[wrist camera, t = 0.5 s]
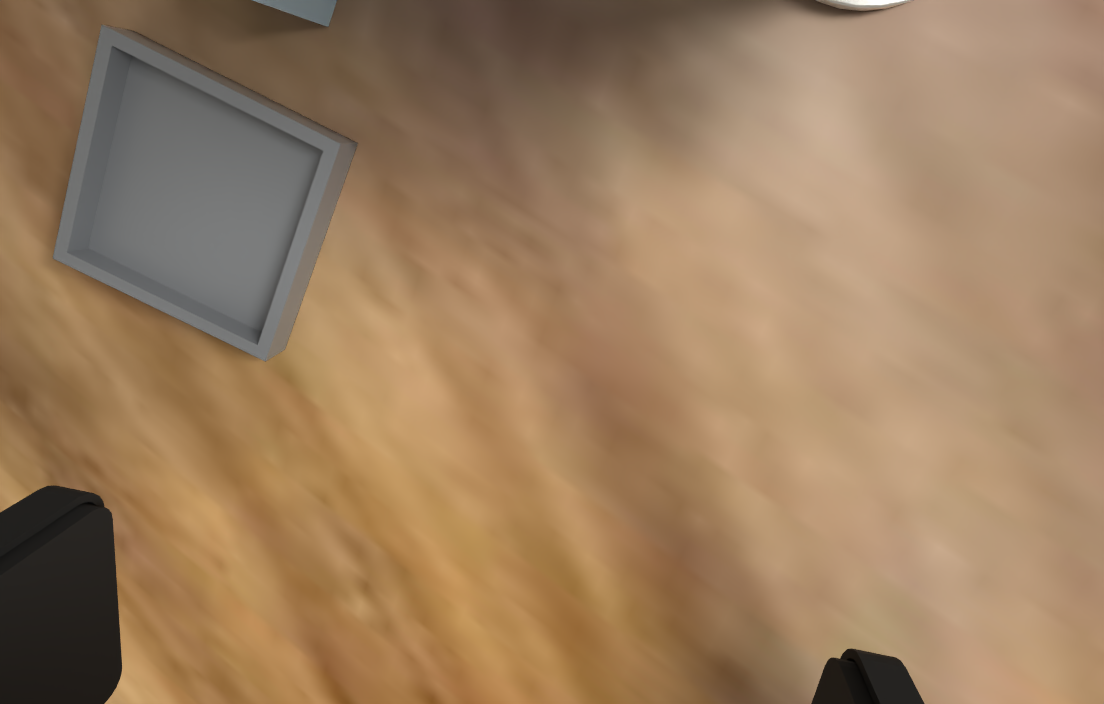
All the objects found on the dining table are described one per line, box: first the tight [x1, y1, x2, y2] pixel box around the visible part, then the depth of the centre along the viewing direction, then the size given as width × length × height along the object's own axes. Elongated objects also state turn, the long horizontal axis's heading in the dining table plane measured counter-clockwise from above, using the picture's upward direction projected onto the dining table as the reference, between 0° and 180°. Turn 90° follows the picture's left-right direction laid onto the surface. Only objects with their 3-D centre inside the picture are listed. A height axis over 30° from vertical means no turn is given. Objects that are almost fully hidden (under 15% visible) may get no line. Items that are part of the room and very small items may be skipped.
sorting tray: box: [53, 25, 358, 361], centre depth 41 cm, size 15×15×2 cm
